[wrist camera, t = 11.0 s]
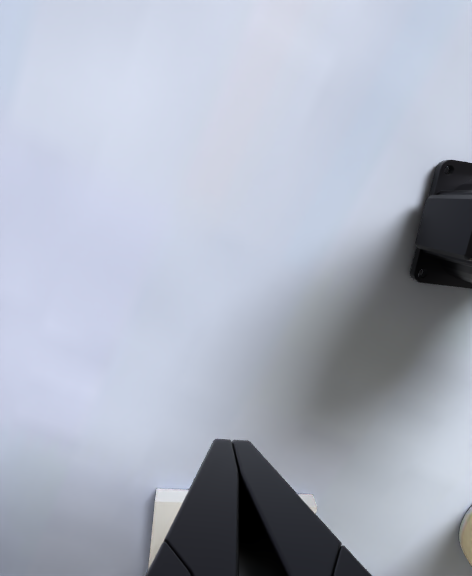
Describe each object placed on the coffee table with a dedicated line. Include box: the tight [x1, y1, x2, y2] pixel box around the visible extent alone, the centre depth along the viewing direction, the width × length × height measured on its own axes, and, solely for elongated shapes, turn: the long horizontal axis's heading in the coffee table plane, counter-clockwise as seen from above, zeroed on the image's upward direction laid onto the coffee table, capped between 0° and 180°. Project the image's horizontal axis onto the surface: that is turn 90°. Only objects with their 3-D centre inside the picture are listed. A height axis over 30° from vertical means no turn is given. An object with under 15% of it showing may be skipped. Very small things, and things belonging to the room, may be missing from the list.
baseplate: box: [148, 489, 317, 569], centre depth 24 cm, size 10×10×1 cm
